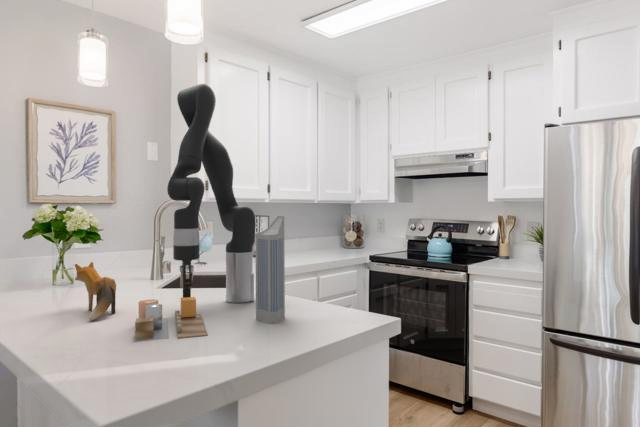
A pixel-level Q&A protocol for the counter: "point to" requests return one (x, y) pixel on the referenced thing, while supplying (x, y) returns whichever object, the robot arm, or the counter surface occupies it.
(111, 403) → the counter surface
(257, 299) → the building model
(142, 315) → the salmon domed cylinder
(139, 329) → the oak block
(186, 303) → the orange block
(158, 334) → the slate tray
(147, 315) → the metal canister
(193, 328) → the rail
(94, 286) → the toy
